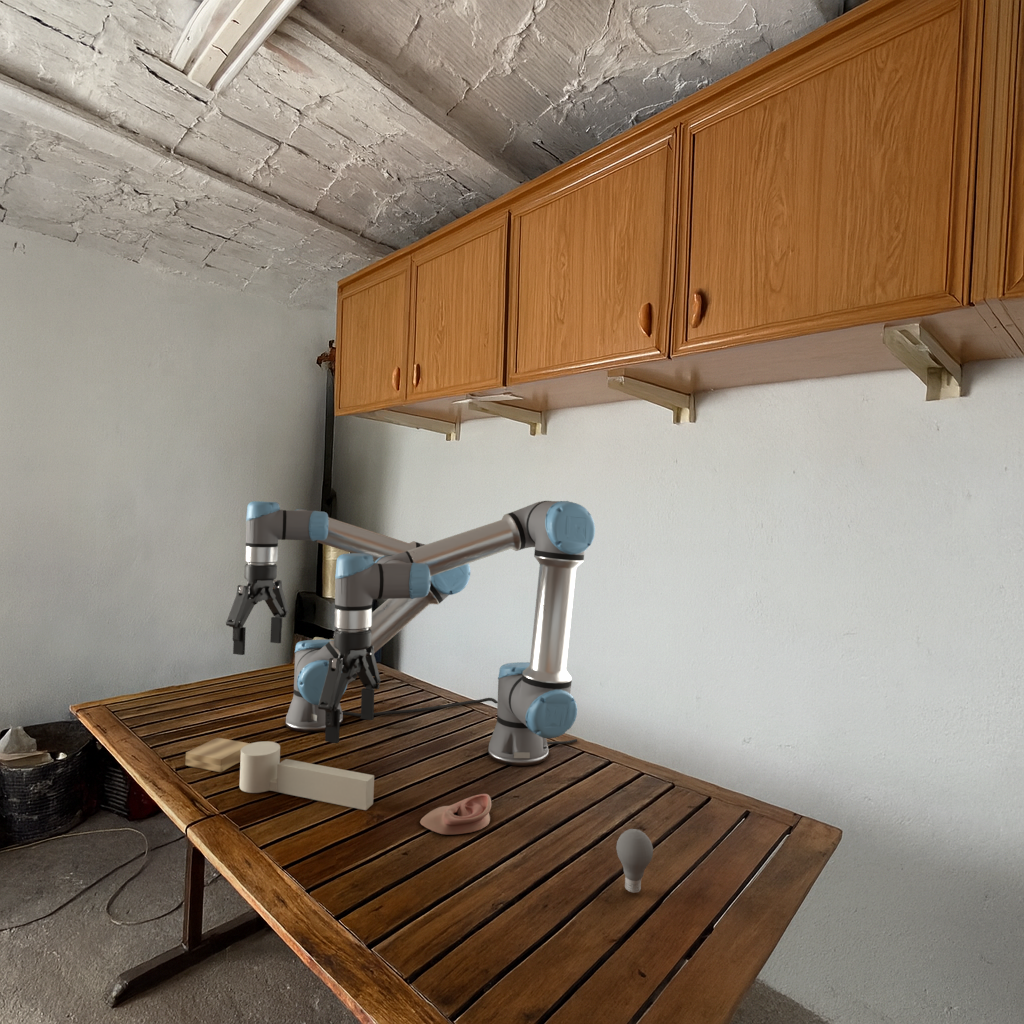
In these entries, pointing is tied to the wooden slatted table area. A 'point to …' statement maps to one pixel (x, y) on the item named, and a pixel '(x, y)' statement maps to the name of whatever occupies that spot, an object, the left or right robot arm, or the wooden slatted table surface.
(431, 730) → the wooden slatted table surface
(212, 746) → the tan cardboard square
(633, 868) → the light bulb
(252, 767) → the toy wooden mallet
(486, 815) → the anatomical model
